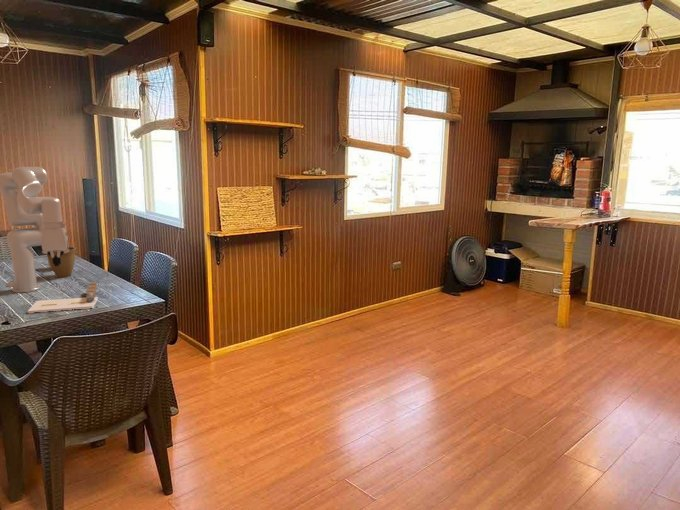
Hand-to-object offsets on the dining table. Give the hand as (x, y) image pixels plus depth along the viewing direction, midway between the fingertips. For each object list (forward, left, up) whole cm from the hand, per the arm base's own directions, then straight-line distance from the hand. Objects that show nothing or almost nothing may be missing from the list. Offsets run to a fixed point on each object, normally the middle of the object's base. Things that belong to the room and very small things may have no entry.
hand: (57, 265), depth 224 cm
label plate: (+1, 0, -19) cm, 19 cm away
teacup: (-18, +84, -20) cm, 88 cm away
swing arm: (+11, +11, -18) cm, 24 cm away
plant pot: (-11, +63, -20) cm, 67 cm away
